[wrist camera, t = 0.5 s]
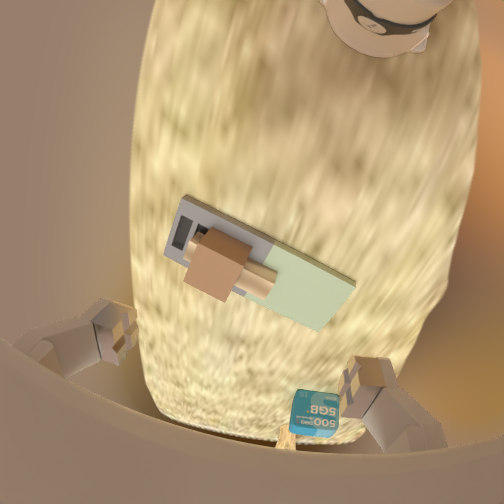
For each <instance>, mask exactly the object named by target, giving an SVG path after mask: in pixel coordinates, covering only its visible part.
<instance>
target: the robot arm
mask: <svg viewBox="0 0 504 504" xmlns="http://www.w3.org/2000/svg"><path fill="white" fill-rule="evenodd" d="M319 1H320V3H321V4H322V5H323V6H324V8H325V9H326V12H327V15H328V19H329V22H330V25H331V27H332V29H333V30H334V32H335V33H336V35H337V36H338V37H339V38H340V39H341V40H342V41H343V42H344V43H345V44H347V45H348V46H349V47H351V48H353V49H354V50H356V51H358V52H360V53H363V54H365V55H369V56H373V57H380V58H386V57H393V56H397V55H399V54H402V53H405V52H410V53H421V52H423V51H424V50H425V48H426V43H427V38H428V36H429V34H430V33H429V27H430V23H431V22H432V20H433V19H434V18H435V17H436V15H437V13H438V12H439V11H440V10H442V9H443V8H445V7H446V6H447V5H449V4H450V3H452V2H453V1H454V0H319ZM503 1H504V0H503ZM136 318H137V310H136V309H135V308H134V307H131V306H128V305H125V304H122V303H119V302H116V301H113V300H110V299H107V298H100V299H99V300H98V301H97V302H96V303H94V304H93V305H92V306H91V307H90V308H89V309H88V310H87V311H86V312H85V313H84V314H82V315H81V316H80V317H77V316H76V317H73V318H69V319H65V320H62V321H58V322H54V323H51V324H47V325H44V326H40V327H36V328H32V329H29V330H28V331H27V332H26V333H24V334H23V335H22V336H21V337H20V338H19V339H18V340H17V341H16V342H14V343H13V344H12V345H11V344H9V343H8V342H6V341H5V340H4V339H2V338H1V337H0V504H504V435H502V436H498V437H495V438H491V439H487V440H483V441H479V442H475V443H470V444H465V445H460V446H454V447H448V445H447V441H446V438H445V435H444V432H443V428H442V425H441V423H440V422H439V421H437V420H436V419H435V418H434V417H433V416H432V415H431V414H430V413H429V412H428V411H427V410H425V409H424V408H423V407H422V406H421V405H420V404H419V403H418V402H417V401H416V400H415V399H413V398H412V397H411V396H410V395H409V394H408V393H407V392H406V391H405V390H404V389H403V388H399V386H398V382H397V379H396V376H395V373H394V370H393V367H392V364H391V361H390V359H389V358H381V357H367V356H358V355H351V357H350V358H349V360H348V362H347V364H348V368H347V369H345V370H344V371H343V372H342V375H341V377H340V380H339V386H338V392H339V395H340V396H341V397H342V400H341V401H340V403H339V404H340V415H341V417H347V418H358V419H361V420H362V421H363V423H364V424H365V426H366V427H367V429H368V430H369V431H370V433H371V434H372V436H373V437H374V438H375V440H376V441H377V443H378V444H379V445H380V447H381V448H382V450H383V451H384V453H383V454H334V453H332V454H331V453H318V452H306V451H296V450H288V449H280V448H273V447H266V446H260V445H254V444H249V443H243V442H238V441H234V440H229V439H225V438H221V437H217V436H212V435H208V434H204V433H201V432H197V431H194V430H190V429H187V428H183V427H180V426H177V425H174V424H171V423H168V422H164V421H162V420H159V419H156V418H153V417H150V416H147V415H145V414H142V413H139V412H137V411H134V410H132V409H129V408H127V407H124V406H122V405H120V404H117V403H115V402H112V401H110V400H108V399H106V398H103V397H101V396H99V395H97V394H95V393H93V392H91V391H88V390H87V389H85V388H83V387H81V386H79V385H77V384H75V383H73V382H71V381H69V380H67V379H66V377H68V376H70V375H72V374H74V373H77V372H79V371H81V370H83V369H85V368H86V367H89V366H91V365H93V364H95V363H97V362H99V361H100V360H101V359H102V360H105V361H107V362H110V363H113V364H115V365H118V366H120V364H121V363H122V362H123V360H124V359H125V357H126V356H127V351H126V350H129V349H131V348H133V346H134V345H135V343H136V341H137V338H138V332H139V330H138V325H137V324H136V322H135V321H134V320H135V319H136Z"/></svg>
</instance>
